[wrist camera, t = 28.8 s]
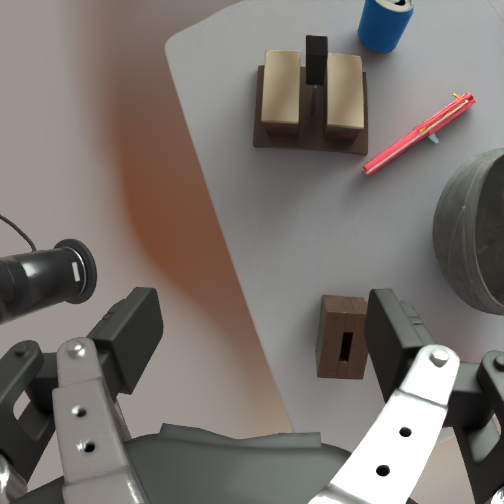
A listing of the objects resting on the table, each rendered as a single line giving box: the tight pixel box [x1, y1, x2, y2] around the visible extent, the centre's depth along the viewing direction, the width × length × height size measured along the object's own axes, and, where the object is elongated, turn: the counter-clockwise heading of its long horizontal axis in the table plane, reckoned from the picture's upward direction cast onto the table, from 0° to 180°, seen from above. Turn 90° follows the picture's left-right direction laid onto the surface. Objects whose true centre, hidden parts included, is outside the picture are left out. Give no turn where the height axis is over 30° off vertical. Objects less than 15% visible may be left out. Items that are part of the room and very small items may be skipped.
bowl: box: [433, 148, 504, 315], centre depth 31 cm, size 21×21×15 cm
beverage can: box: [358, 0, 413, 53], centre depth 32 cm, size 6×6×12 cm
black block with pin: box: [306, 35, 328, 115], centre depth 31 cm, size 2×3×17 cm, turn 176°
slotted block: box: [253, 51, 368, 155], centre depth 37 cm, size 16×13×8 cm
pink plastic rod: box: [361, 93, 475, 176], centre depth 37 cm, size 24×2×5 cm
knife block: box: [315, 295, 369, 380], centre depth 40 cm, size 6×9×8 cm, turn 176°
